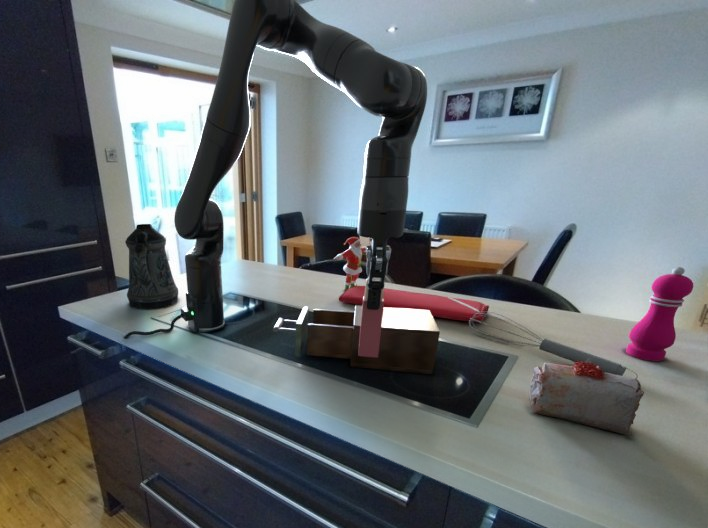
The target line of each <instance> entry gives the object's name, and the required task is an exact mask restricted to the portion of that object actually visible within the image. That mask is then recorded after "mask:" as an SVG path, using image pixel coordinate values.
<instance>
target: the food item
mask: <svg viewBox="0 0 708 528" xmlns="http://www.w3.org/2000/svg"><path fill="white" fill-rule="evenodd" d="M644 394H645V392H644V391H643V390H642V385H641V383H640V380H638V378H637V379H636V377H630V376H625V375H623V376H620V375H615V374H611V373H606V372H603V369H602V368H601V367H600V366H597V365H594V363H592V360H591V359H587V360H586V361H582V362H579V361H578V362H574V363H573V366H572V365H566V364H558V363H551V362H546V361H545V362H543V364H542V366H538V365H537V366H534V368H533V375H532V378H531V381H530V384H529V400H530V406H531V408H532V412H533V413H535V414H539V415H543V416H548V417H551V418H558V419H563V420H566V421H570V422H574V423H578V424H582V425H586V426H590V427H592V428H597V429H601V430H605V431H608V432H609V431H610V432H615V433H617V434H621V435H626V436H629V435H630V434H631V431H630V430H631V427H632V425H634V422H635V419H636V416H637V414H636V412H637V411H638V410H639V407H640V405H641V404H640V401H641V399H642V398H643V397H644Z"/></svg>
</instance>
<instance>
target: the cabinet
mask: <svg viewBox="0 0 708 528" xmlns="http://www.w3.org/2000/svg"><path fill="white" fill-rule="evenodd" d="M354 312H355V315H354V329H353V341H352V352H351V359H350V363H349V366H350V367H352V368H362V369H372V370H373V369H374V370H381V371H383V370H384V371H393V372H404V373H411V374H412V373H414V374H423V375H433V373H434V367H435V362H436V356H437V352H438V351H437V350H438V345H439V341H440V333H441V331H440V329H439V326H438V325H437V323H436V321H435V318H434V316H432V314H431V312H430V310H419V309H403V308H387V307H384V308H383V317H382V326H381V335H380V344H379V352H378V358H377V357H366V356H358V349H359V338H360V327H361V316H362V305H355V306H354Z"/></svg>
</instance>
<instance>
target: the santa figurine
mask: <svg viewBox="0 0 708 528" xmlns="http://www.w3.org/2000/svg"><path fill="white" fill-rule="evenodd" d="M347 244H349V247H348V249H346V250H345V251H343V252H341V253H338V254H337V255H336V256H335V257H333V260H337V261H341V260H343V259H346V261H347V262H346V263H345V264H344V265H343V268H342V270H343V272H345V274H346V277H345V281H344V290H343V292H345V291H347V290H348V289H350V288H353V287H355V286H358V284H356V282H357V279H358V278H359V276H360V273H362V272H363V268H362V267H361V266H362V259H363V252H364V253H366V249H367V246H364V245H363V246H362V244H361V239H360V238H359V237H358V236H357V237H356V236H351V237H349V238H347V239H346V241H345V242H344V243H343V245H344V246H346V245H347Z"/></svg>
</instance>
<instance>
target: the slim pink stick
mask: <svg viewBox="0 0 708 528" xmlns="http://www.w3.org/2000/svg"><path fill="white" fill-rule="evenodd" d="M368 280H369V278H367V277H366V279H365V286H366V287H365V296H363V305H361V306H362V316H361V327H360V338H359V349H358V356H366V357H377V358H378V352H379V344H380V335H381V326H382V317H383V308H384V298H383V292H384V288H385V286H384V287H383V289H382V290H381V299H380V308H379V309H378V310H370V309H367V297H368V287H367V284H368ZM372 281H380V278H372ZM384 284H386V280H384Z"/></svg>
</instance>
